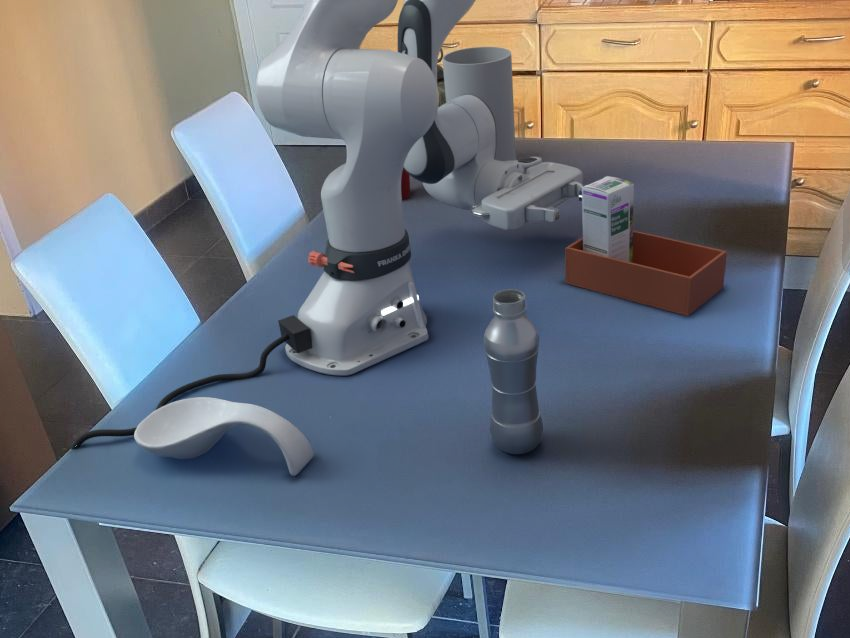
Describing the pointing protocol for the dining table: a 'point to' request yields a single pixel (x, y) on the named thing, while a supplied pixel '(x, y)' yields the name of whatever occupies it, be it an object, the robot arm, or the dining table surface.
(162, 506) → the dining table surface
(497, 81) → the cylinder vase
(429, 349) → the dining table surface
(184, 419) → the spoon rest
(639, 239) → the bin
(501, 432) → the plastic bottle
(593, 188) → the syrup box
